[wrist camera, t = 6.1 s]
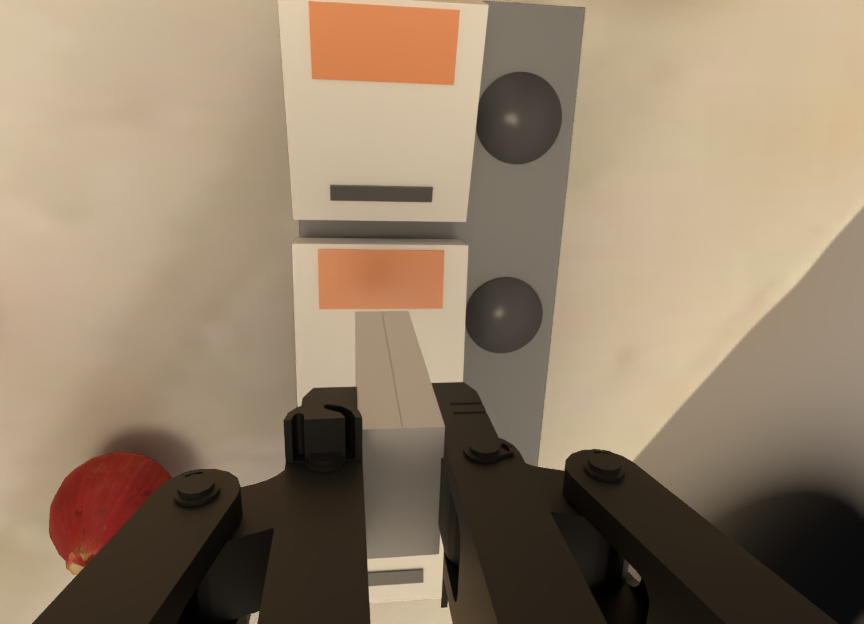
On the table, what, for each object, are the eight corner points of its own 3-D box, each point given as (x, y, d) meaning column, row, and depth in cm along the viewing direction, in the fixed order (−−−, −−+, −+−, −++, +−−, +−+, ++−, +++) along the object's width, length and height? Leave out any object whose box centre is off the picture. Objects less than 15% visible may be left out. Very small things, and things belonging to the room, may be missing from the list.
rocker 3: (307, 585, 29) (303, 609, 27) (305, 424, 28) (301, 436, 26) (448, 576, 30) (455, 599, 28) (448, 420, 29) (455, 431, 27)
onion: (198, 432, 34) (152, 524, 26) (188, 516, 35) (142, 625, 28) (89, 418, 33) (9, 510, 25) (84, 505, 34) (7, 616, 27)
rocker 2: (302, 412, 27) (297, 433, 25) (296, 237, 25) (291, 244, 23) (453, 408, 28) (461, 428, 25) (460, 239, 26) (468, 246, 24)
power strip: (319, 551, 37) (312, 629, 32) (301, 10, 27) (287, -17, 22) (503, 541, 39) (528, 613, 33) (548, 25, 29) (594, 3, 23)
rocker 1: (297, 200, 25) (293, 221, 23) (283, -14, 21) (276, -8, 19) (459, 202, 26) (466, 223, 24) (478, -2, 21) (489, 5, 20)
